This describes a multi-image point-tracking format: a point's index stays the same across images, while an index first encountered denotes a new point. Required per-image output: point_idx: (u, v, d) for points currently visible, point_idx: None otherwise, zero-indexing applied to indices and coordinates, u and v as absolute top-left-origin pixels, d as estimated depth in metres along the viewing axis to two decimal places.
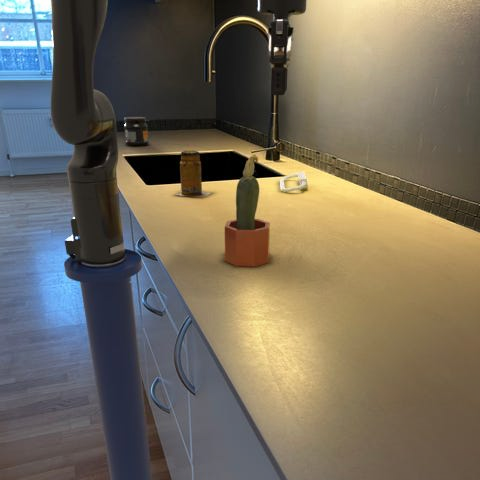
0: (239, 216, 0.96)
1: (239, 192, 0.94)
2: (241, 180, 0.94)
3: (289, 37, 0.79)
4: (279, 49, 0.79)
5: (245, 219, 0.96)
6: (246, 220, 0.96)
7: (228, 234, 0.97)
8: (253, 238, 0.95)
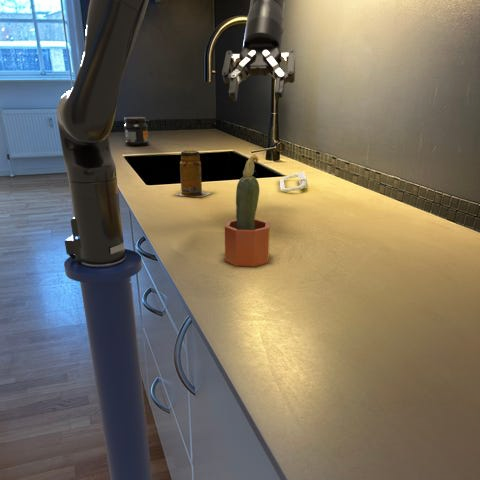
0: (239, 216, 0.96)
1: (239, 192, 0.94)
2: (241, 180, 0.94)
3: None
4: None
5: (245, 219, 0.96)
6: (246, 220, 0.96)
7: (228, 234, 0.97)
8: (253, 238, 0.95)
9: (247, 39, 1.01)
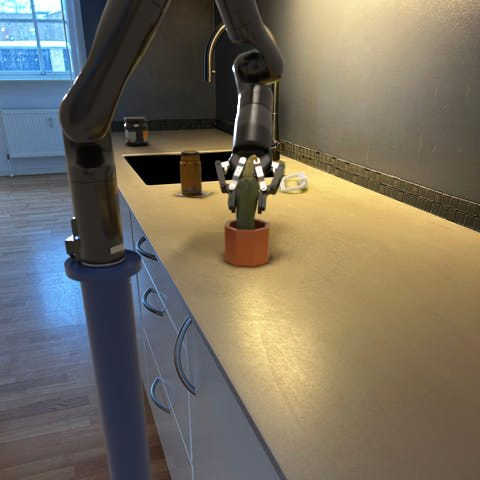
0: (239, 216, 0.96)
1: (238, 192, 0.94)
2: (241, 180, 0.94)
3: None
4: None
5: (245, 219, 0.96)
6: (246, 220, 0.96)
7: (228, 234, 0.97)
8: (253, 238, 0.95)
9: (237, 145, 0.97)
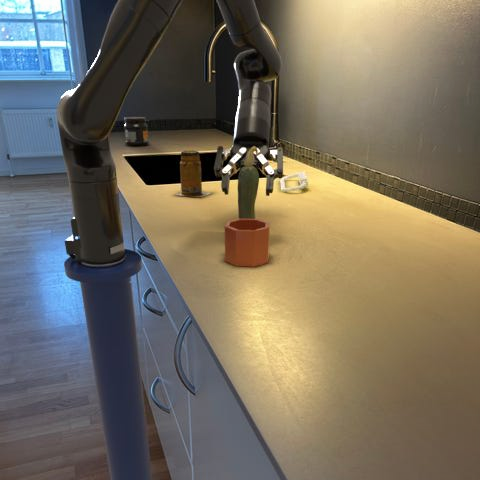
0: (240, 202, 1.05)
1: (240, 181, 1.03)
2: (242, 169, 1.03)
3: None
4: None
5: (246, 205, 1.05)
6: (247, 206, 1.05)
7: (228, 234, 0.97)
8: (253, 238, 0.95)
9: (238, 137, 1.06)
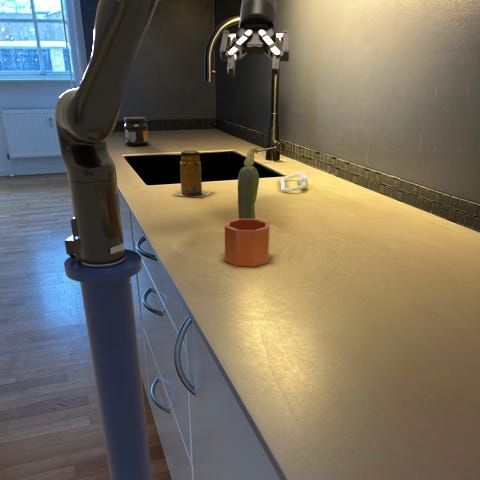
0: (241, 202, 1.05)
1: (240, 181, 1.03)
2: (242, 169, 1.03)
3: None
4: None
5: (246, 205, 1.05)
6: (247, 206, 1.05)
7: (228, 234, 0.97)
8: (253, 238, 0.95)
9: (243, 19, 1.06)
